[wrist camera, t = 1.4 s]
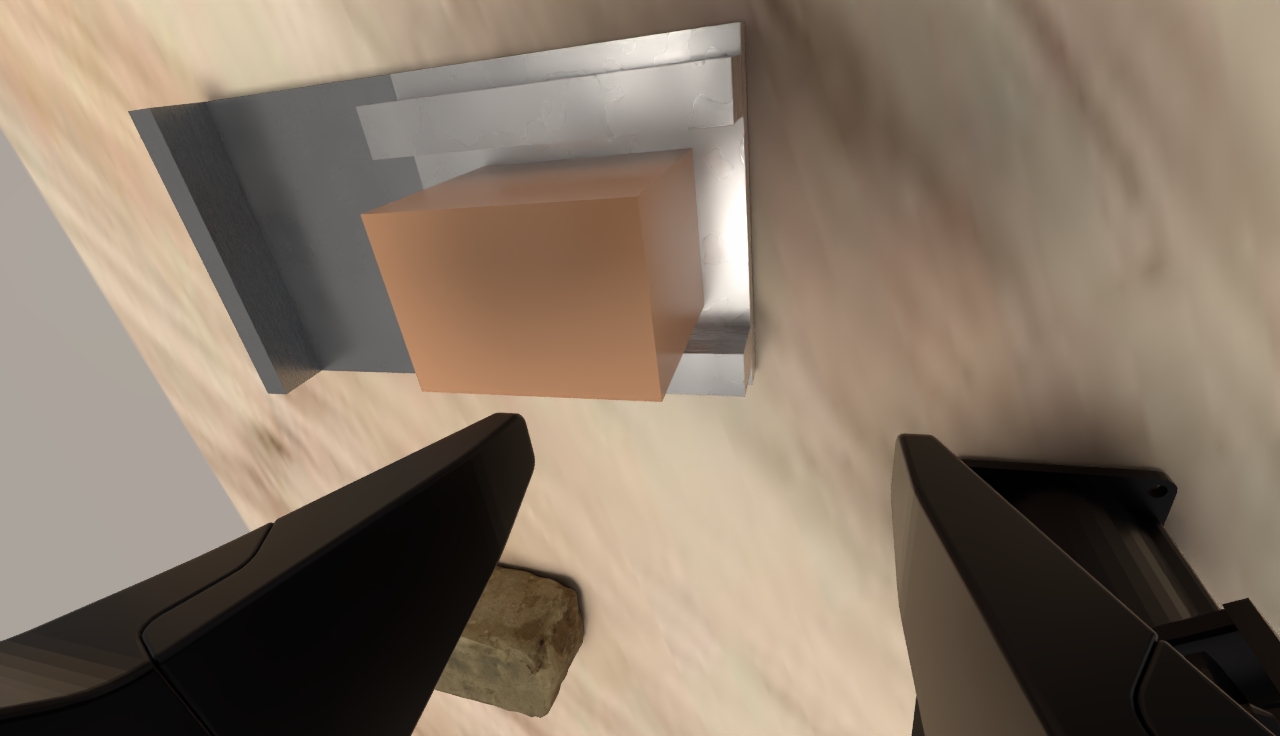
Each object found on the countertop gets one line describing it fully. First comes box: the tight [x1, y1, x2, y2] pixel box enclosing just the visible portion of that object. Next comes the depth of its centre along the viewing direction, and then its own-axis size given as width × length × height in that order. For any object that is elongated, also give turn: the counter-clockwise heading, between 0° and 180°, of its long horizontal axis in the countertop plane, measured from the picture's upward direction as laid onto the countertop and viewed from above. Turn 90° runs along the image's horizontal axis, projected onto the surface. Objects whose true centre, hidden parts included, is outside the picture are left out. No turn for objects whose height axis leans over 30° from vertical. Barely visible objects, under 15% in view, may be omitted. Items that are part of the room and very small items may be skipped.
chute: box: [128, 22, 755, 397], centre depth 20 cm, size 20×11×3 cm, turn 98°
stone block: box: [435, 565, 583, 718], centre depth 30 cm, size 6×12×5 cm, turn 93°
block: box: [361, 148, 704, 402], centre depth 17 cm, size 7×5×6 cm
